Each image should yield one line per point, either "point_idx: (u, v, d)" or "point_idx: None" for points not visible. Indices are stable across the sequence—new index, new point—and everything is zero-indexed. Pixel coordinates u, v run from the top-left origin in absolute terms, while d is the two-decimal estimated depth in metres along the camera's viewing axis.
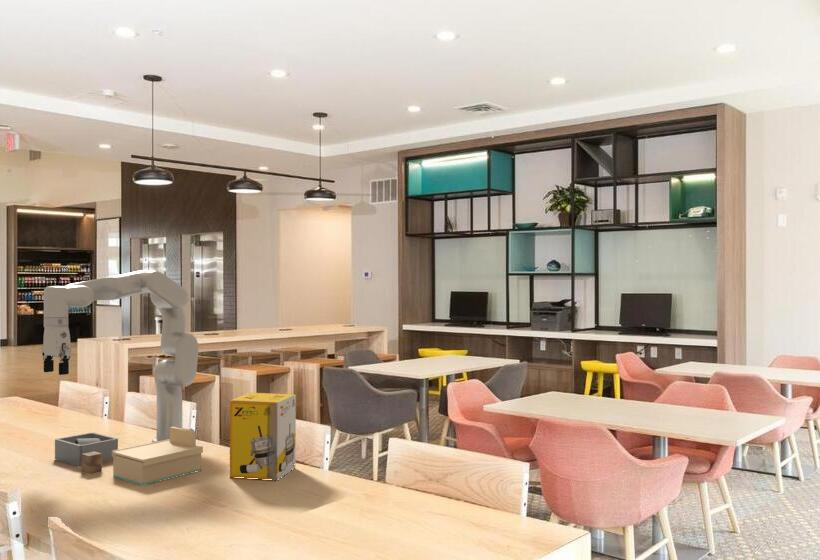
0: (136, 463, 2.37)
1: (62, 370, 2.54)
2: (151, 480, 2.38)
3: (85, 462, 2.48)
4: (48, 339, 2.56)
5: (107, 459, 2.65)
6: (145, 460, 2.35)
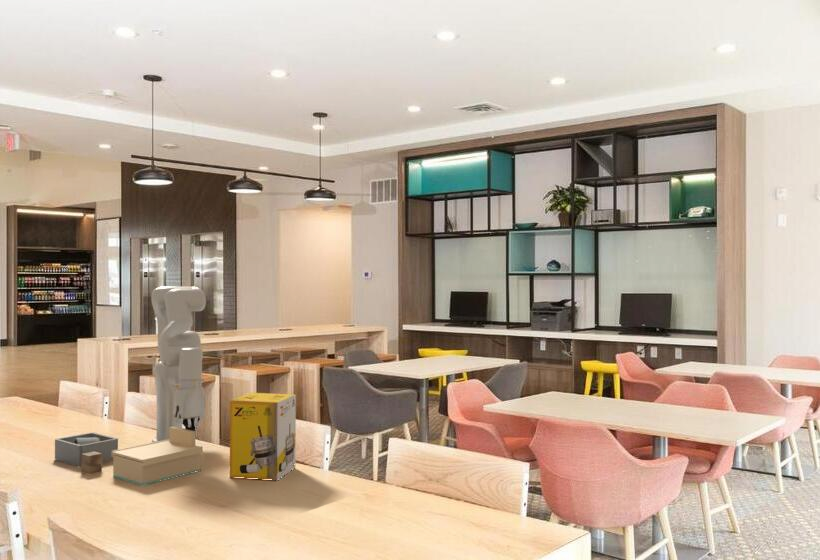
0: (136, 463, 2.37)
1: None
2: (151, 480, 2.38)
3: (85, 462, 2.48)
4: (194, 401, 2.57)
5: (107, 459, 2.65)
6: (145, 460, 2.35)
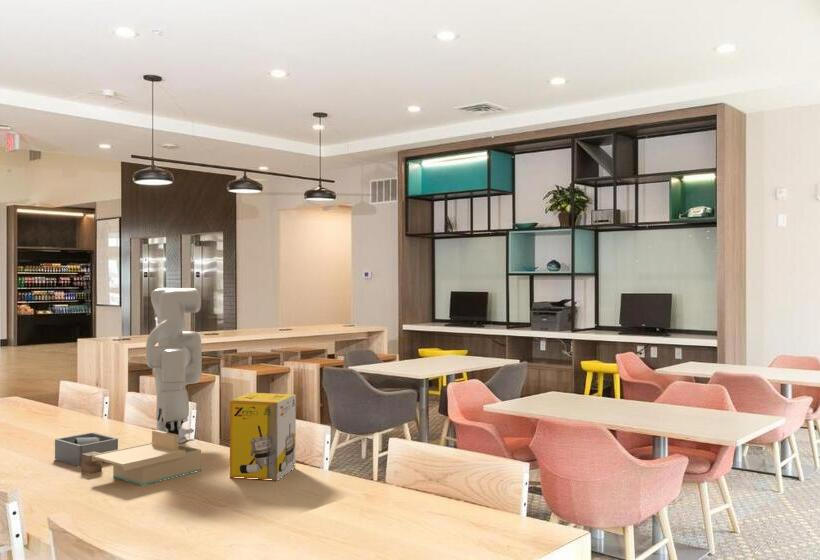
0: None
1: None
2: (151, 480, 2.38)
3: (85, 462, 2.48)
4: (177, 404, 2.51)
5: None
6: (125, 464, 2.29)
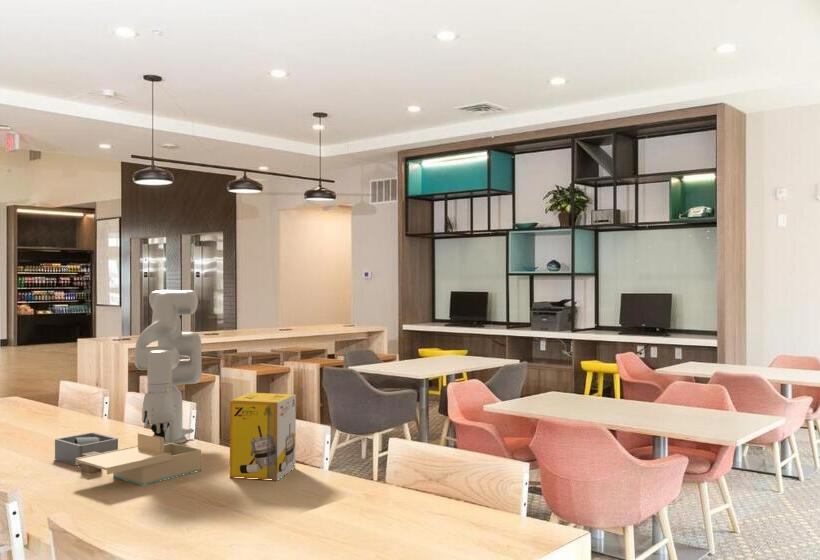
0: None
1: (164, 439, 2.49)
2: (151, 480, 2.38)
3: None
4: (163, 406, 2.47)
5: None
6: (109, 468, 2.25)
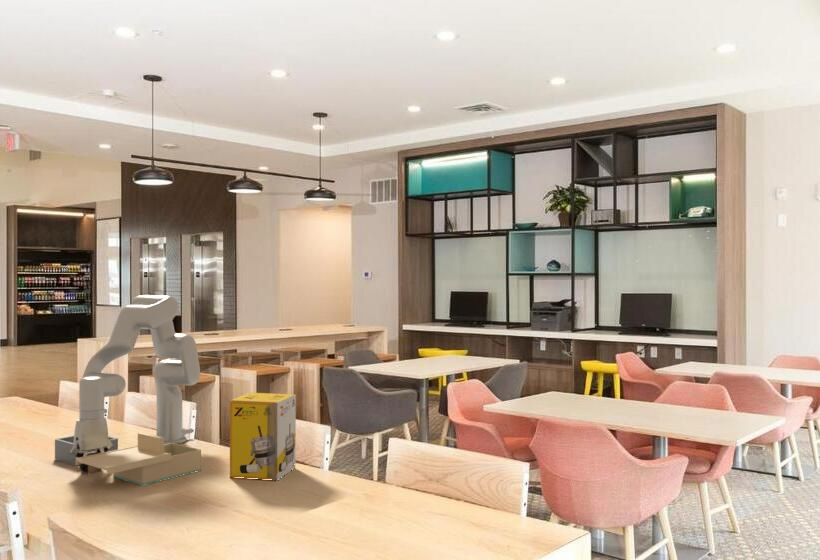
0: None
1: None
2: (151, 480, 2.38)
3: None
4: (94, 432, 2.48)
5: None
6: (109, 468, 2.25)
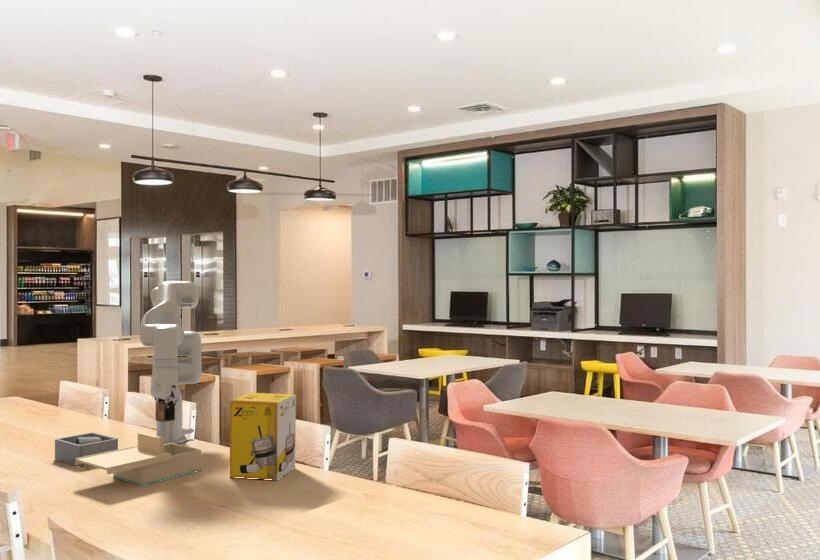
0: None
1: None
2: (151, 480, 2.38)
3: None
4: None
5: None
6: (109, 468, 2.25)
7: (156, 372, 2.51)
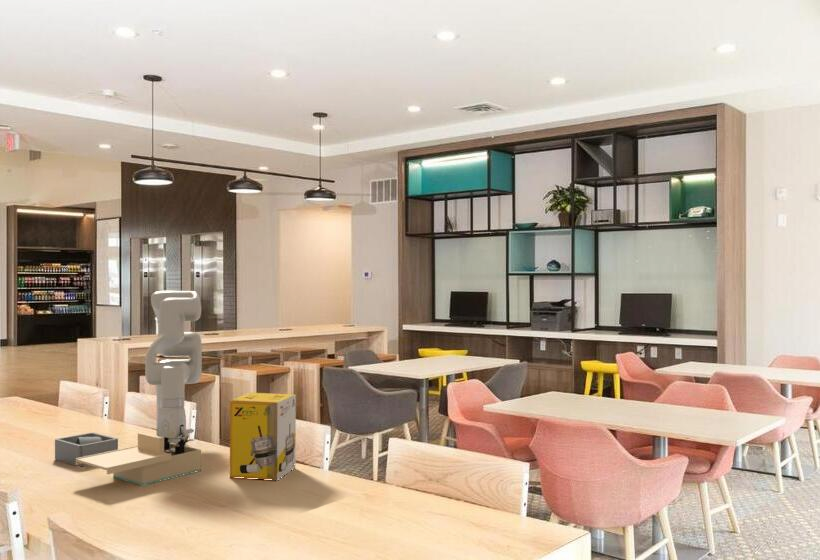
0: None
1: None
2: (151, 480, 2.38)
3: None
4: None
5: None
6: (109, 468, 2.25)
7: (163, 412, 2.51)
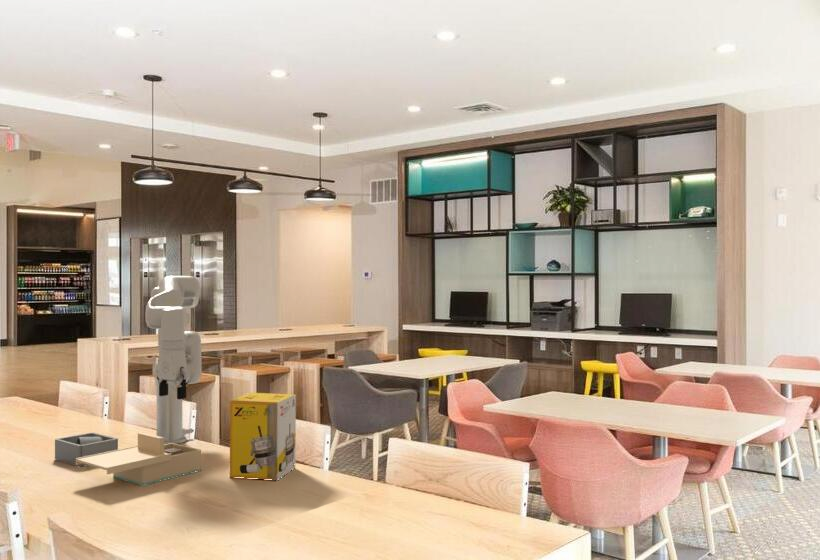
0: None
1: None
2: (151, 480, 2.38)
3: None
4: None
5: None
6: (109, 468, 2.25)
7: (163, 354, 2.51)
